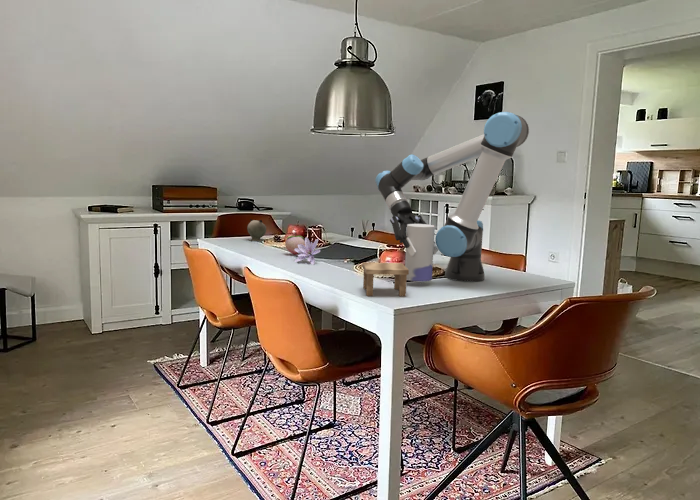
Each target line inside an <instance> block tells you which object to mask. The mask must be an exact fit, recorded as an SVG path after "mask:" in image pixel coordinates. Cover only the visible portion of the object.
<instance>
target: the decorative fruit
mask: <svg viewBox="0 0 700 500" xmlns="http://www.w3.org/2000/svg"><path fill="white" fill-rule="evenodd" d="M298 244H302V245H304V246H305V238H304V237H303V236H302V235H297V234H296V233H295V234H294V235H289V236H287V237H286V238H285V243H284V246H285V248H286V250H287V251H288V252H289V253H291V254H293V255H294V256H295V255H299V253H298V252H296V251H295V250H294V249H295V248H298ZM305 247H306V246H305Z"/></svg>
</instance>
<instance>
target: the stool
mask: <svg viewBox="0 0 700 500" xmlns="http://www.w3.org/2000/svg"><path fill="white" fill-rule="evenodd" d="M361 264H362V269H363V282H362V283H363V287H362V288H363V290H366V291H365V292H366V293H365V294H366V295H365V296H366V297H373V296H374V275H394V281H393V282H394V286H393V288H394V290H396V291H398V296H399V297H406V296H407V275H409V270H408V269H407V268H406V267H405V264H403V262H362V263H361Z"/></svg>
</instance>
